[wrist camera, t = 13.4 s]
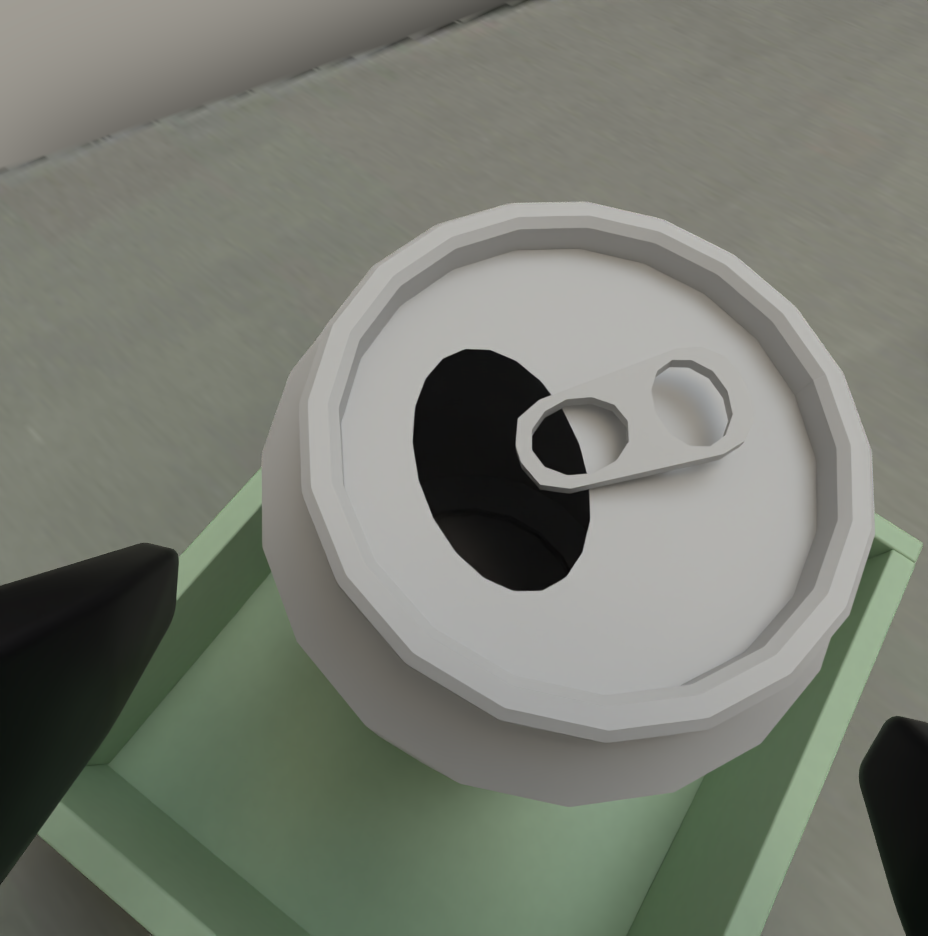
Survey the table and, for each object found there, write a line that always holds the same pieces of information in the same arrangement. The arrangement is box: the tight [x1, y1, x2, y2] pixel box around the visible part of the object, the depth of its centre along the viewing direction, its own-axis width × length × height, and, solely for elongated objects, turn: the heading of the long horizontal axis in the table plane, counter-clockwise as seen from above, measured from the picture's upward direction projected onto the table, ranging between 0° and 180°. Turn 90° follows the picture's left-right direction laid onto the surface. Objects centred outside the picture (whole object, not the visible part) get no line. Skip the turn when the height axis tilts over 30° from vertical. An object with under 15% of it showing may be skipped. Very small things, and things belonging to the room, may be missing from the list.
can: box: [262, 202, 875, 807], centre depth 13 cm, size 8×8×12 cm
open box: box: [37, 467, 923, 936], centre depth 16 cm, size 15×13×4 cm
